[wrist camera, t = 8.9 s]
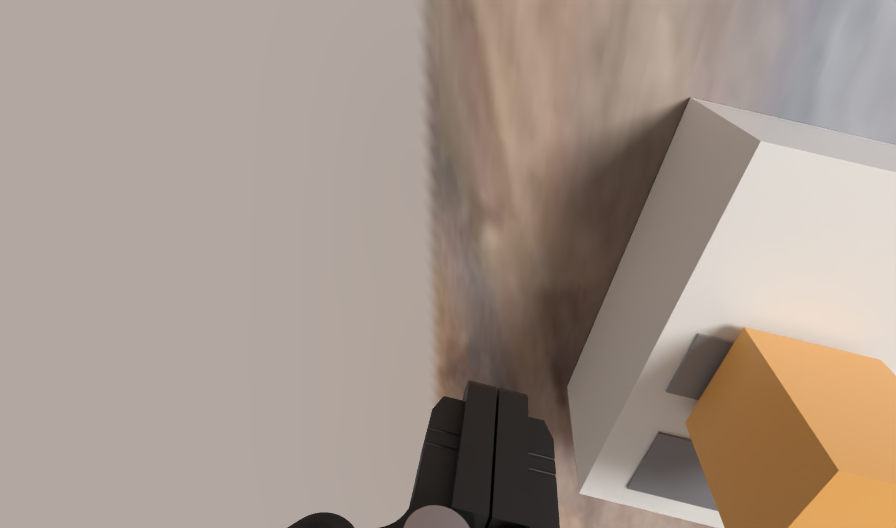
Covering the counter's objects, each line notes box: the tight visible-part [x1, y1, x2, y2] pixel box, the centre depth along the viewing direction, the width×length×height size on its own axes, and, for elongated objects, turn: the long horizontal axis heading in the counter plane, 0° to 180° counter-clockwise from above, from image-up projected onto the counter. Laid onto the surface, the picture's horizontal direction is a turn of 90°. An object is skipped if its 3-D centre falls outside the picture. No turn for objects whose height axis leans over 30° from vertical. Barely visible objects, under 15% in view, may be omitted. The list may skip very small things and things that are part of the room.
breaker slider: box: [685, 327, 896, 528], centre depth 13 cm, size 4×4×5 cm
